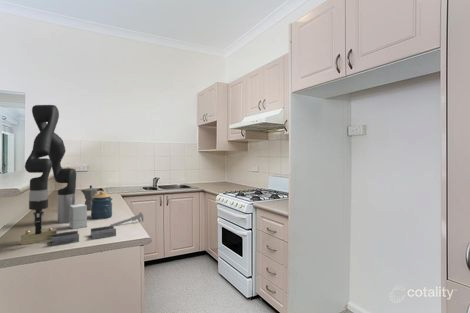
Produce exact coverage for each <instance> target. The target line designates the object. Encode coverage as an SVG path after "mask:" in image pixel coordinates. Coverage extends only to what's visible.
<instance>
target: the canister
mask: <svg viewBox="0 0 470 313" xmlns="http://www.w3.org/2000/svg"><path fill="white" fill-rule="evenodd" d="M92 197H93V199H92V200H91V202H92V204H91V210H90V218H91V219H92V220H104V219H109V218H112V216H113V202H112V200H113V198H112V195H111V194H109V193H106V192H103V191H99V193H97V194H95V195H94V196H92Z"/></svg>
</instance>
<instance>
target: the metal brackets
mask: <svg viewBox="0 0 470 313" xmlns="http://www.w3.org/2000/svg"><path fill="white" fill-rule="evenodd" d="M90 236H91V237H90V238H91V240H96V239H97V240H98V239H102V238H103V239H104V238H110V237H114V236H117V228H116V227H115V226H110V225H106V226H99V227H93V228H90ZM78 242H80V233H79V231H78V229H77V230H71V231H64V232H59V233H58V232H57V233H56V234H52V240H51V246H52V247H53V246H59V245H66V244H72V243H78Z"/></svg>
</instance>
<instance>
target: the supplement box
mask: <svg viewBox="0 0 470 313" xmlns="http://www.w3.org/2000/svg"><path fill="white" fill-rule="evenodd" d="M69 227H70V228H71V229H73V230H75V229H80V228H86V227H88V211H87V206H86V205H85V203H80V204H79V203H78V204H75V205H70V222H69Z"/></svg>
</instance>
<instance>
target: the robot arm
mask: <svg viewBox="0 0 470 313" xmlns="http://www.w3.org/2000/svg"><path fill="white" fill-rule="evenodd" d="M31 108H32V109H31V113H32V117H33V119H34V121H35V124H36V126H37V129H38V131H39V132H38V134H37V135H36V136H35V138H34V141H33V145H32V150H31V152H30V154H29V156H28V158H27V159H26V161H25V164H24V168H25V171H26V172H28V173H29V174H30V173H32V174H35V173H36V174H37V173H42V174H41V175H40V176H36V177H32V178H30V179H29V193H28V209H29V211H35V212H33V223H34V224H33V225H34V228H35V229H34V231H35V234H36V235H37V234H41V230H42V226H43V225H42V224H43V221H44V215H45V214H44V211H43V210H45V209H48V208H49V191H48V187H49V186H48V184H49V183H48V181H49V176H50V173H51V170H52V174H53V178H54V180H55V182H56V183H58V184H66V186H65V187H63V188H59V189H57V223H58V224H61V223H62V224H64V223H65V224H67V223H70V205H76V188H77V172H76V169H75V168H71V167H70V168H67V167H65V168H63V167H62V164H61V162H62V160H63V158H64V157H65V154H66V146H65V143H64V141H63V139H62V137H60V136H59V135H58V134H57V133H55V131H56V128H57V124H58V123H59V118H60V112H59V109H58V107H57V105H55V104H35V105H33V106H32V107H31ZM47 156H48V158H46V157H47ZM44 157H45V158H44Z"/></svg>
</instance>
